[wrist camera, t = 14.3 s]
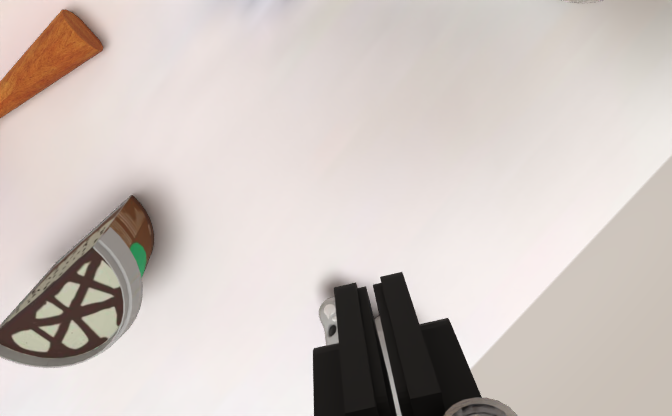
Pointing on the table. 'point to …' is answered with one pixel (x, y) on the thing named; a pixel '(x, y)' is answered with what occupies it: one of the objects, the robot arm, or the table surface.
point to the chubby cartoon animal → (331, 336)
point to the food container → (83, 295)
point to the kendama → (48, 60)
